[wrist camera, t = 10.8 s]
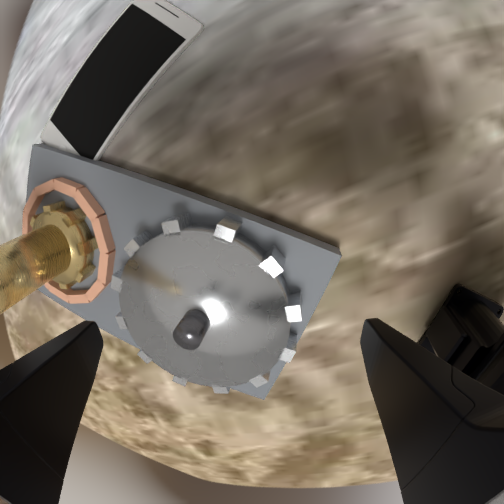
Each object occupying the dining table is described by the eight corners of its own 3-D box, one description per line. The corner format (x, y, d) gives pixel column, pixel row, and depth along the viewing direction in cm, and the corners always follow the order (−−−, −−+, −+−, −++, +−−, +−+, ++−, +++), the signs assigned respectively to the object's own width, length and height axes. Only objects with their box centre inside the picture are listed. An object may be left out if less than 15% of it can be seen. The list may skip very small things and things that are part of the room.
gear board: (339, 248, 20) (343, 261, 17) (266, 387, 25) (262, 408, 22) (44, 143, 21) (24, 145, 18) (35, 276, 26) (20, 285, 23)
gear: (335, 258, 18) (342, 286, 15) (262, 396, 23) (254, 432, 19) (141, 185, 19) (107, 195, 15) (118, 335, 24) (94, 361, 20)
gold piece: (111, 242, 21) (-26, 331, 9) (80, 295, 23) (-23, 380, 11) (59, 183, 20) (-79, 230, 8) (34, 241, 22) (-74, 301, 10)
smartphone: (45, 136, 21) (38, 137, 20) (148, -9, 15) (143, -13, 15) (86, 185, 22) (79, 187, 21) (208, 29, 16) (204, 25, 15)
